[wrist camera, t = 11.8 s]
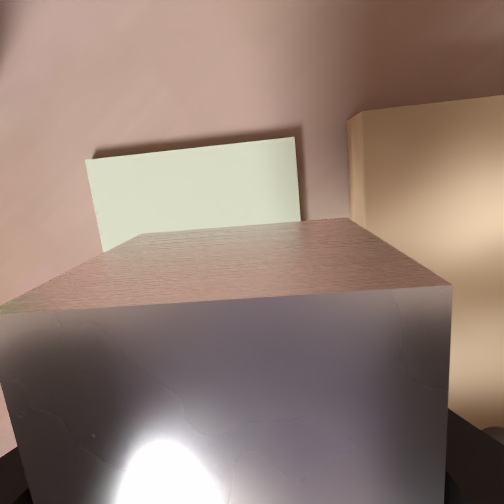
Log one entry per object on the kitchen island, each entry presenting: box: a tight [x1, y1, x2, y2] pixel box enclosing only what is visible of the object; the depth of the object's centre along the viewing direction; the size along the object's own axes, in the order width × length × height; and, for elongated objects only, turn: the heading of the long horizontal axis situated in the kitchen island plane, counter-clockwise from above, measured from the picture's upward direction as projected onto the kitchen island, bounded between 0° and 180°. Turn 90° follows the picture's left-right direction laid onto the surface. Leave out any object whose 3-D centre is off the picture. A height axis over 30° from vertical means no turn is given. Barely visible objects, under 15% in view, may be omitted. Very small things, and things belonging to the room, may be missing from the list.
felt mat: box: [85, 137, 301, 253], centre depth 19 cm, size 14×10×1 cm
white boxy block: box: [0, 218, 453, 504], centre depth 7 cm, size 8×5×5 cm, turn 5°
